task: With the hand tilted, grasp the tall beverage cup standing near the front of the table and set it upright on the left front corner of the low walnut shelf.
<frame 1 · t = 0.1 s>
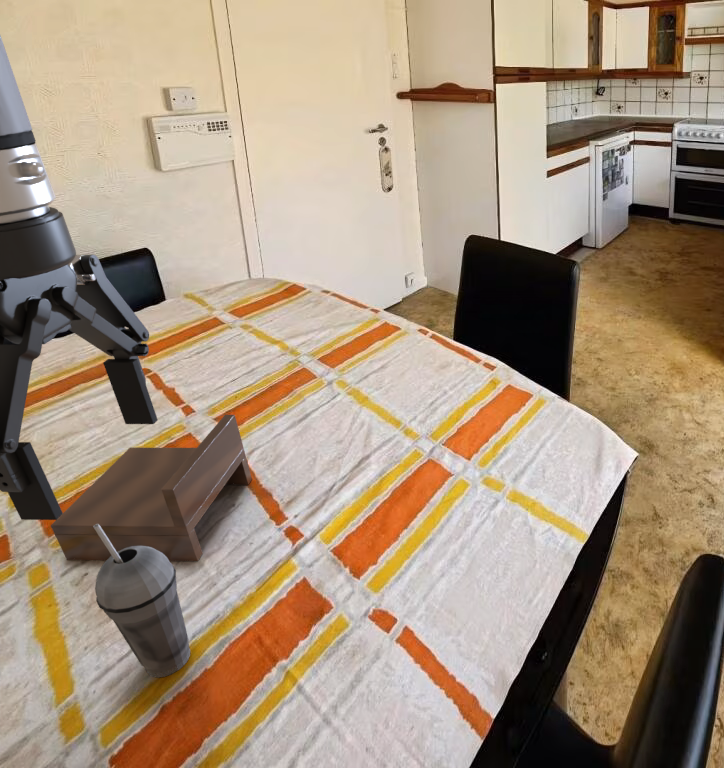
hand: (97, 464, 53), 29 cm above the table, tool pointing down, fingers open, 13 cm apart
beverage cup: (168, 660, 70), on the table
shelf: (167, 516, 91), on the table
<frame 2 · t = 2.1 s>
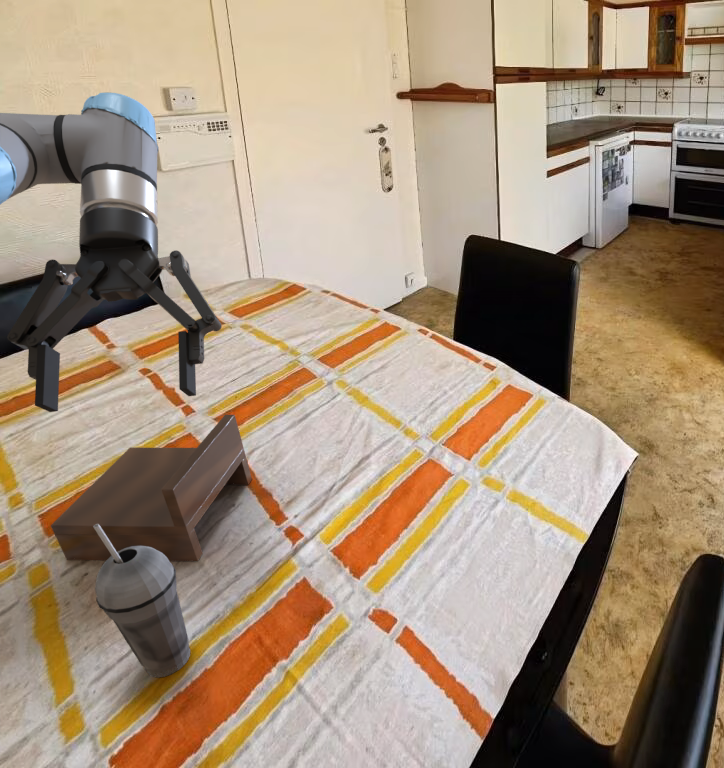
hand: (118, 400, 65), 28 cm above the table, tool tilted 45°, fingers open, 13 cm apart
nothing on the table moved.
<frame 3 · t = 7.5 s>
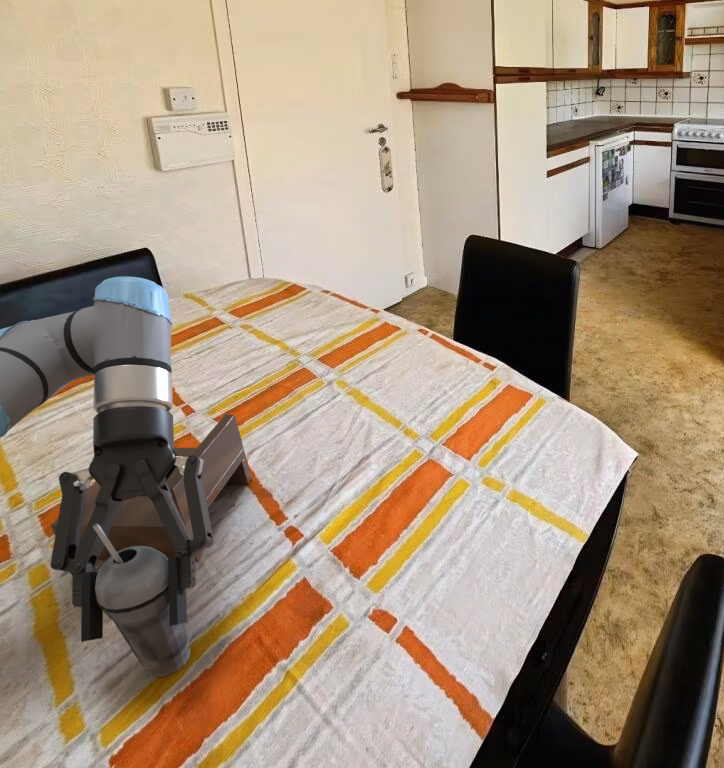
hand: (135, 631, 62), 9 cm above the table, tool tilted 45°, fingers closed on beverage cup, 7 cm apart
beverage cup: (168, 660, 70), on the table, touching gripper
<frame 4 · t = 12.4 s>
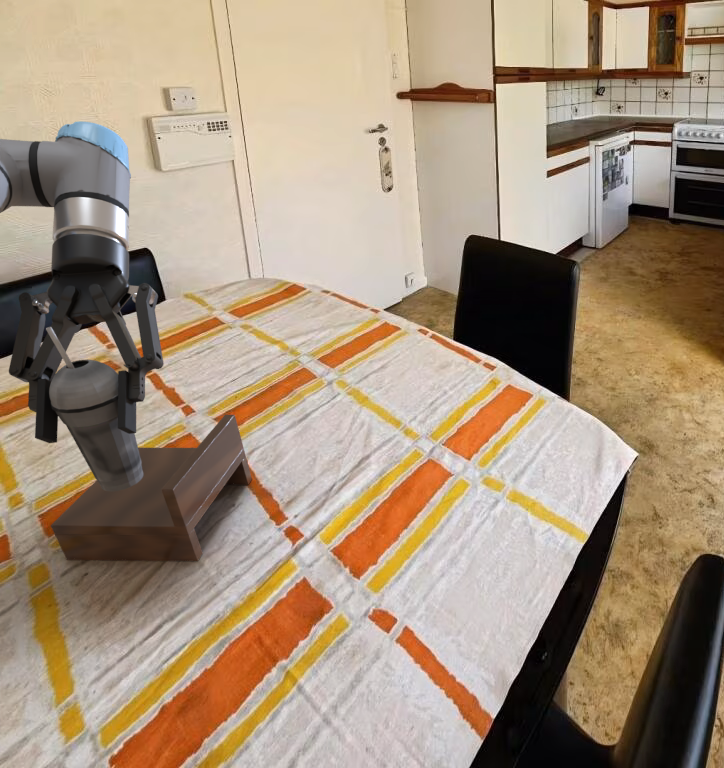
hand: (87, 435, 67), 23 cm above the table, tool tilted 45°, fingers closed on beverage cup, 7 cm apart
beverage cup: (122, 481, 74), point 15 cm above the table, touching gripper
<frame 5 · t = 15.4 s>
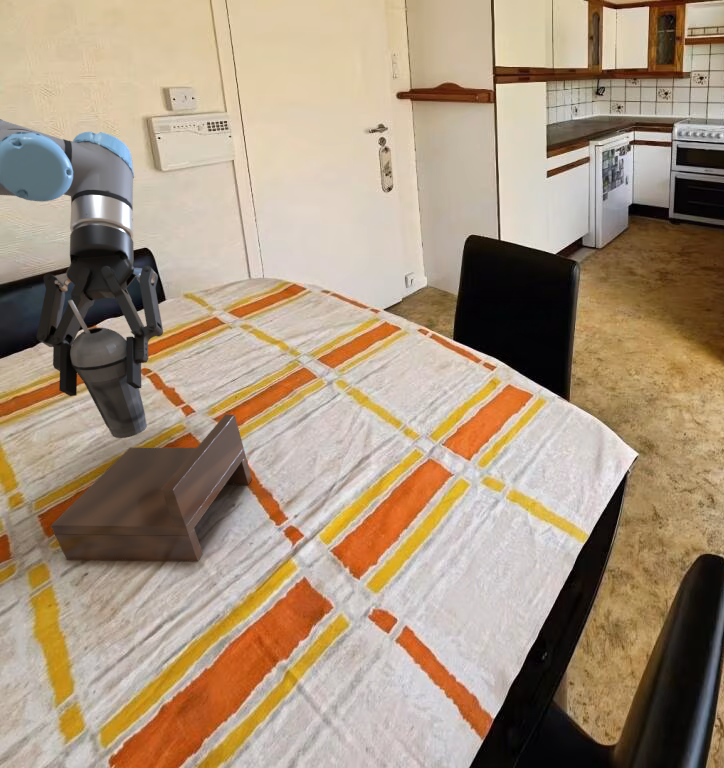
hand: (101, 388, 82), 21 cm above the table, tool tilted 45°, fingers closed on beverage cup, 7 cm apart
beverage cup: (130, 430, 90), point 12 cm above the table, touching gripper
when the fingers open (15 cm above the table, at t = 17.5 s): beverage cup stays where it is, resting on shelf.
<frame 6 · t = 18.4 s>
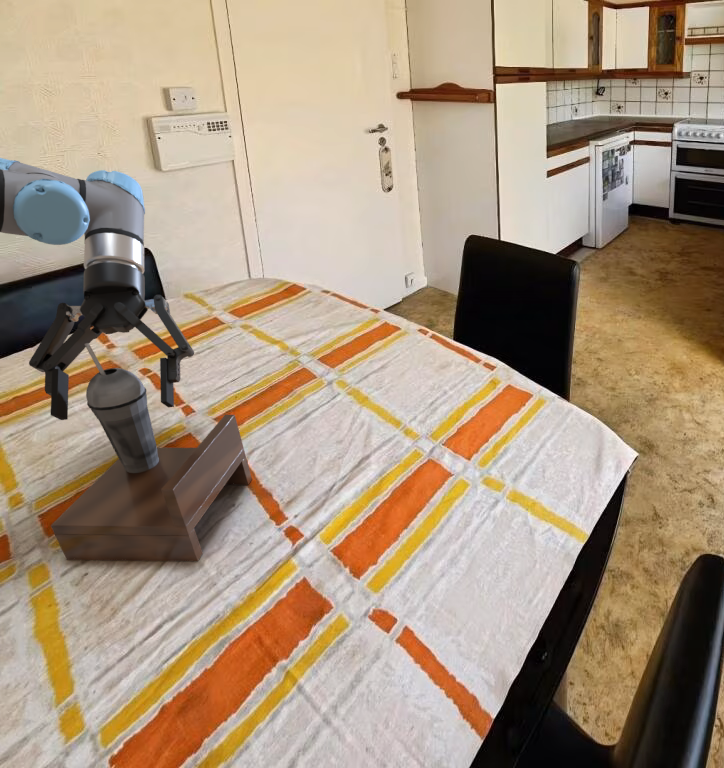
hand: (114, 411, 86), 16 cm above the table, tool tilted 45°, fingers open, 13 cm apart
beverage cup: (142, 465, 93), point 6 cm above the table, touching shelf
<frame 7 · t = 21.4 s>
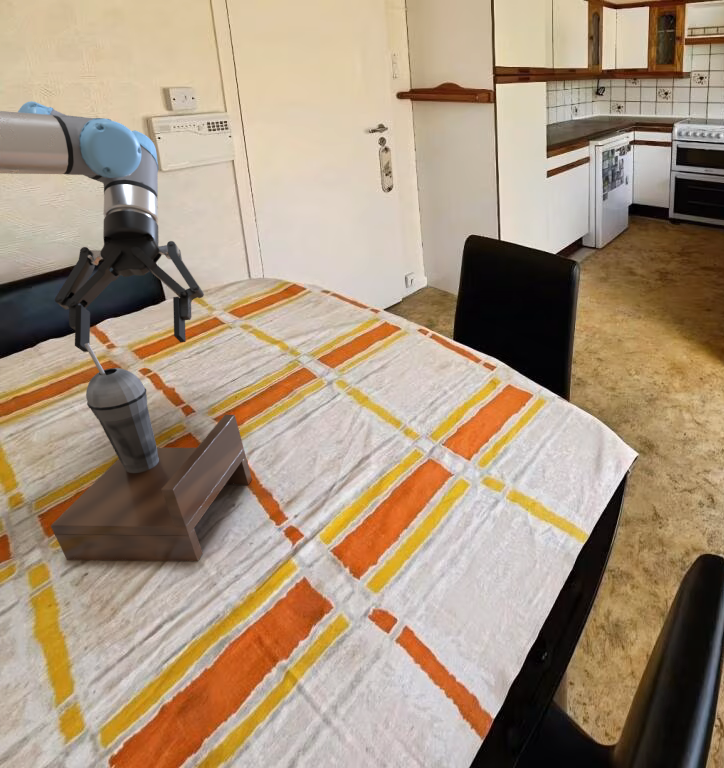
hand: (131, 344, 94), 21 cm above the table, tool tilted 45°, fingers open, 13 cm apart
nothing on the table moved.
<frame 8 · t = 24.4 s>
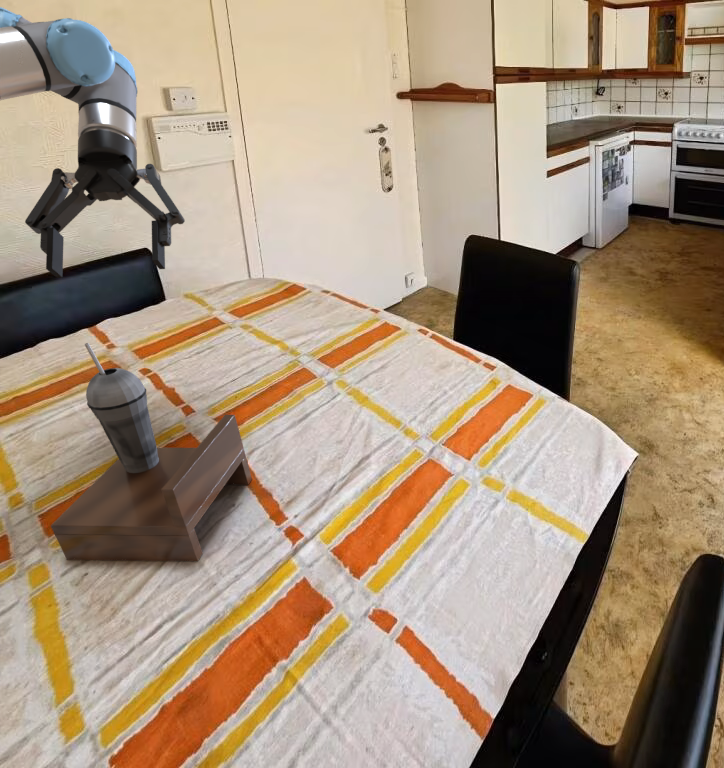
hand: (107, 269, 89), 33 cm above the table, tool tilted 45°, fingers open, 13 cm apart
nothing on the table moved.
at the end: beverage cup inside the target area on the shelf (0.1 cm from its centre), point 5.8 cm above the shelf's base; beverage cup tilted 0°; the gripper is holding nothing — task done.
